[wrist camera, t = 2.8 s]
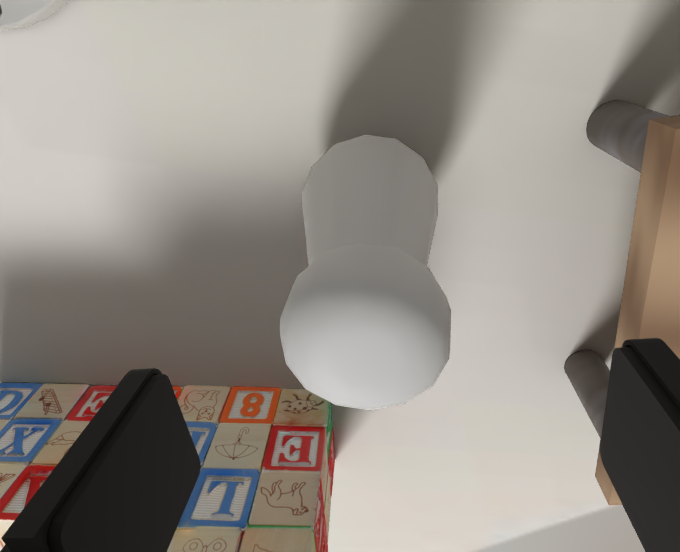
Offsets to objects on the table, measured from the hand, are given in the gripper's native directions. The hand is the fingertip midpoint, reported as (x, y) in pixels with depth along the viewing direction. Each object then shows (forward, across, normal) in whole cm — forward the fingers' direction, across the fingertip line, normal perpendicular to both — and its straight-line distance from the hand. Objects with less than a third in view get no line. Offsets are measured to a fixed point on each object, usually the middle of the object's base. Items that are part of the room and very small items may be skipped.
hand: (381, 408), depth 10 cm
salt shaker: (+14, +1, -1) cm, 14 cm away
